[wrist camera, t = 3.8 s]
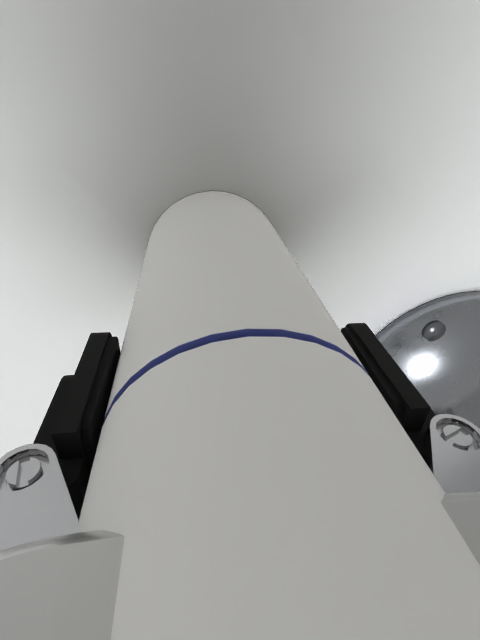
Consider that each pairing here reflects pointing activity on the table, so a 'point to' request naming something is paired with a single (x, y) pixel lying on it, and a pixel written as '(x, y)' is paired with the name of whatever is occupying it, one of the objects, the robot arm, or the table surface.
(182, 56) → the table surface
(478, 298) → the flange fitting
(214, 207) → the cylindrical container
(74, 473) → the robot arm
